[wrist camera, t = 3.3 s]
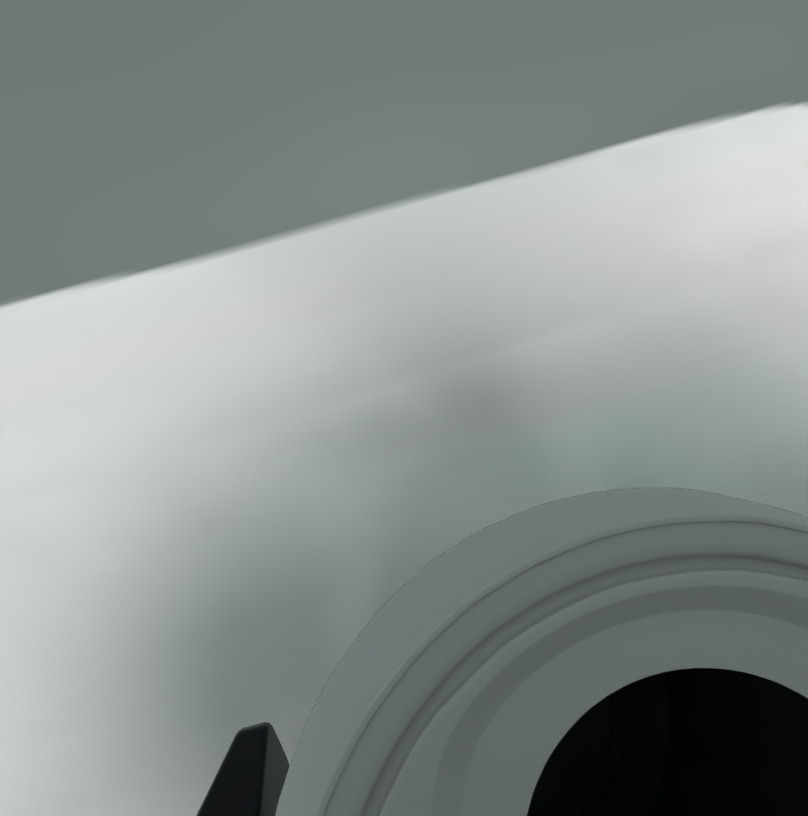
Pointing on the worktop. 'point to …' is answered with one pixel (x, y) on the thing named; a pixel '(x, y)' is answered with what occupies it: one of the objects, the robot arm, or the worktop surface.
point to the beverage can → (579, 671)
